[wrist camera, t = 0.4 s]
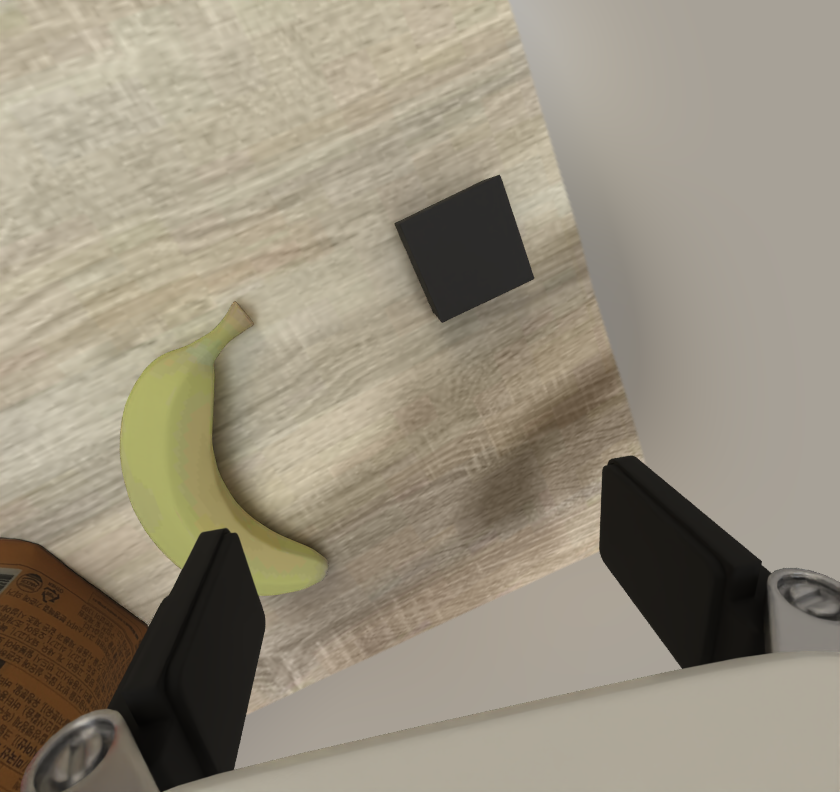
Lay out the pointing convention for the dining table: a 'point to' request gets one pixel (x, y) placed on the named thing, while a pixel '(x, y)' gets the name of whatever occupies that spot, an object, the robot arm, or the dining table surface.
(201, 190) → the dining table surface
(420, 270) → the black pad
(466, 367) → the dining table surface
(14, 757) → the pancake mix bag
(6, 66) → the dining table surface
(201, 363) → the banana
